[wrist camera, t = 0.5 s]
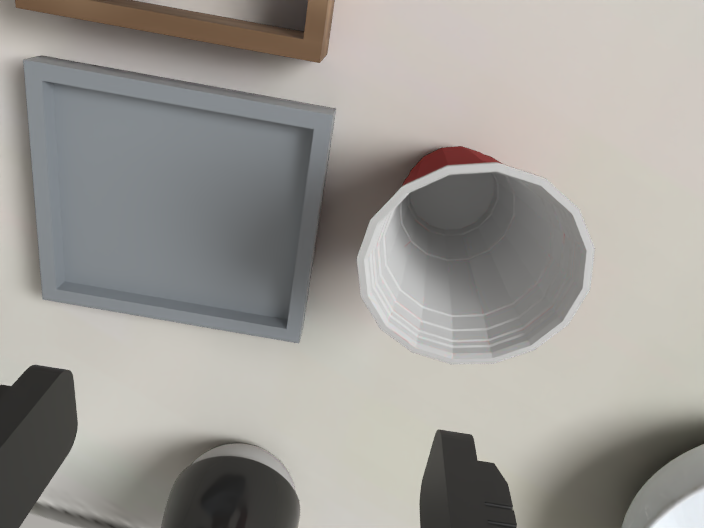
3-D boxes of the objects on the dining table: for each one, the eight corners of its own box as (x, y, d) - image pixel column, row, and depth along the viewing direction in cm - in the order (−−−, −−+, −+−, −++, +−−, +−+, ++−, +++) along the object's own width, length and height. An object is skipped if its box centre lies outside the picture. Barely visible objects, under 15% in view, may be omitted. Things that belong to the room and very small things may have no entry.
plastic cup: (335, 222, 39) (315, 314, 28) (420, 73, 34) (435, 115, 24) (473, 294, 40) (504, 407, 30) (571, 161, 36) (649, 237, 25)
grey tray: (42, 55, 35) (23, 59, 33) (336, 108, 35) (333, 115, 34) (57, 285, 42) (42, 299, 40) (302, 328, 42) (299, 343, 41)
